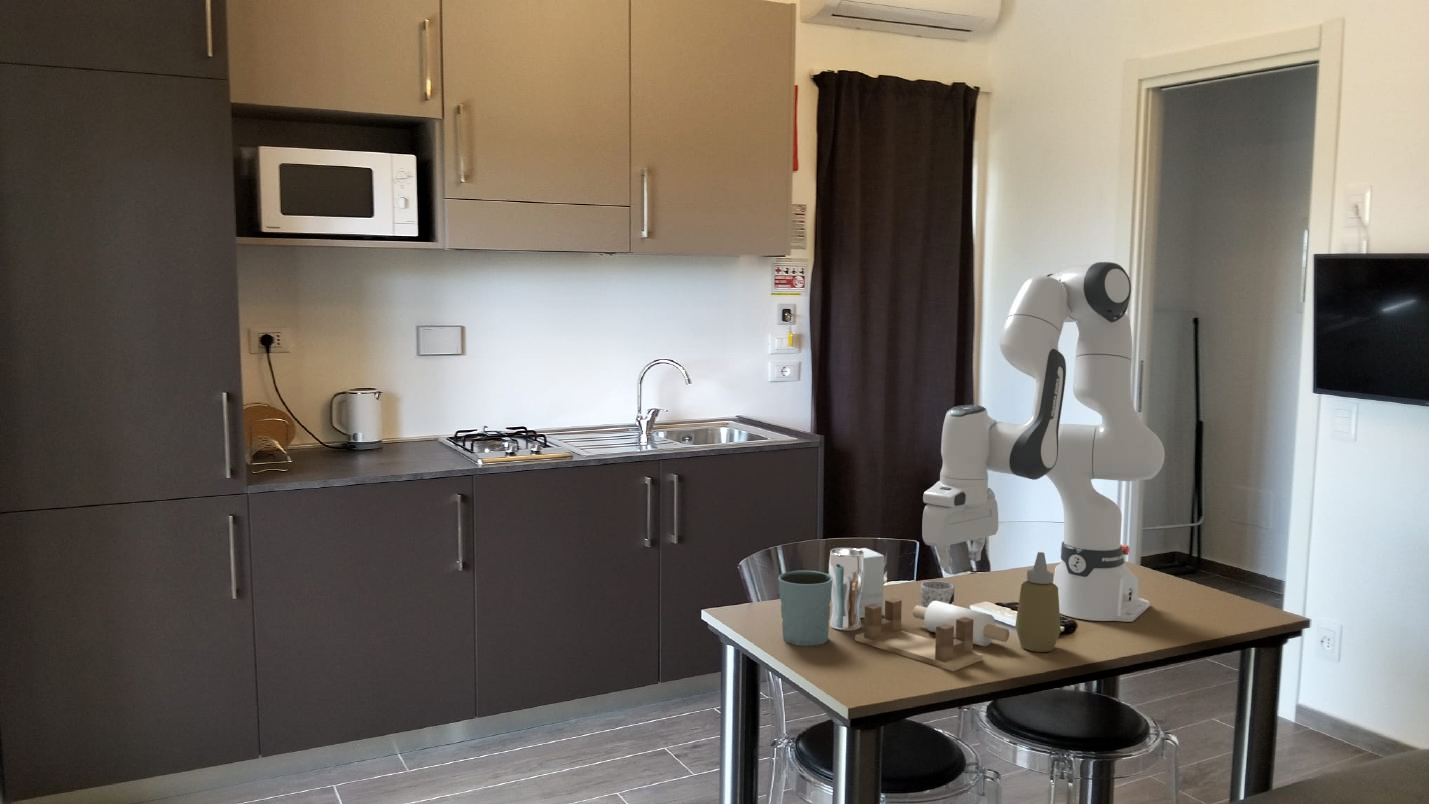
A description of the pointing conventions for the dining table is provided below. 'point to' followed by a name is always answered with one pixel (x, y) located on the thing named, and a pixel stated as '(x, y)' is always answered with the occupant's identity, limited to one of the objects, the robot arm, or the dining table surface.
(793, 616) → the embossed teal cup
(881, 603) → the supplement box
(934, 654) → the roll holder
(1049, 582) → the squeeze bottle
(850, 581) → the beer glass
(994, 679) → the dining table surface
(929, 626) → the paper roll
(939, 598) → the mug
